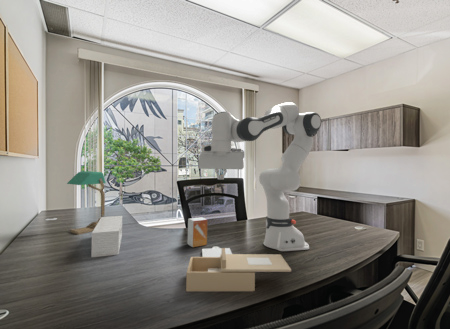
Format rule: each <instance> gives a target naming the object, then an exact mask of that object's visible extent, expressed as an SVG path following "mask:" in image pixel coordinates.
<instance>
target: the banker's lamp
mask: <svg viewBox="0 0 450 329" xmlns="http://www.w3.org/2000/svg"><path fill="white" fill-rule="evenodd" d="M66 184H67V185H76V186H84V185H87V186H88V187H89V188H91V189H94V190H96V191H98V192H99V193H100V196H101V198H100V201H101V202H100V218H98V220H97V221H93V222H91V223H90V224H88V225H86V226H85V227H80V228H75V229H72V228H71V229H70V233H72V234H75V235H83V234H87V233H92V232H93V230H94V228H95V227H96V225H97V224H98V222H99V220H100V219H101V217H105V210H106V209H105V206H106V203H105V201H106V200H105V198H106V197H105V196H106V195H105V192H104V189H105V184H106V179H105V175H104V173H103V172H101V171H89V170H88V171H85V170H84V171H78V172H77V173H76V174H75V175H74V176H73V177H72V178H70V180H69V181H68V182H67V183H66ZM94 185H100V186H101V188H99V187H96V186H94Z"/></svg>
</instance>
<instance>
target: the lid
mask: <svg viewBox="0 0 450 329" xmlns="http://www.w3.org/2000/svg"><path fill="white" fill-rule="evenodd" d="M225 248H226V247H222V254H220V258H221V272H255V273H257V272H259V273H260V272H261V273H262V272H265V273H267V272H268V273H271V272H272V273H273V272H274V273H275V272H277V273H278V272H282V273H284V272H285V273H288V272H289V273H290V272H292V268H291V267H290V266H289V264H288V262H286V259H284V257H283V255H282V254H280V253H279V254H277V253H276V254H270V253H269V254H267V253H261V254H260V253H259V254H258V253H257V254H256V253H254V254H253V253H246V254H245V253H244V254H243V253H241V254H240V253H232V254H225Z"/></svg>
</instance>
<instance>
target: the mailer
mask: <svg viewBox="0 0 450 329" xmlns="http://www.w3.org/2000/svg"><path fill="white" fill-rule="evenodd" d="M185 282H186V283H185V284H186V285H185V286H186V288H185V291H186V292H255V291H256V290H255V289H256V288H255V287H256V284H255V283H256V272H221V258H220V257H202V256H190V259H189V263H188V266H187V268H186V281H185Z"/></svg>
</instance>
